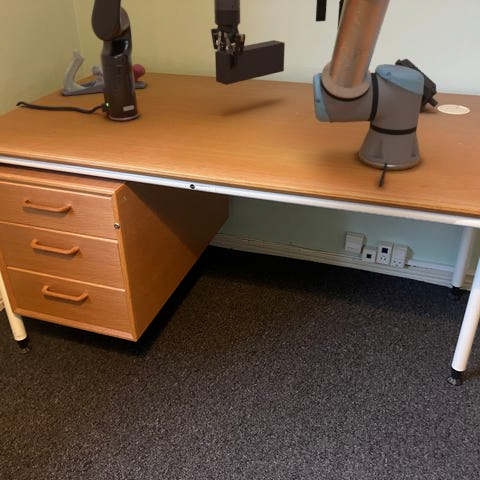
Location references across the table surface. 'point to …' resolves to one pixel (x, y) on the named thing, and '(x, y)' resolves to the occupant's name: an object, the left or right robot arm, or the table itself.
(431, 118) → the table surface
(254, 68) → the bar
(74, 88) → the hand plane
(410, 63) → the tool
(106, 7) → the left robot arm
